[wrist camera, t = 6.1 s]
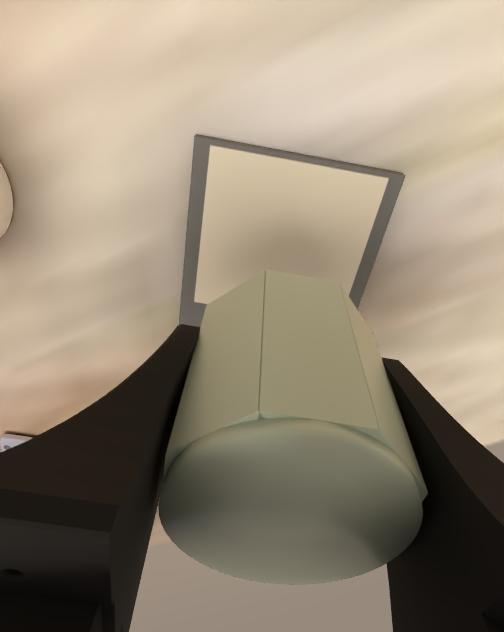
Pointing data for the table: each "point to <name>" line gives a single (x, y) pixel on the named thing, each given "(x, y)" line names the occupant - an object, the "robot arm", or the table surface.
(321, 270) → the mat
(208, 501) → the sage cup
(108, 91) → the table surface
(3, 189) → the cup
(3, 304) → the table surface
